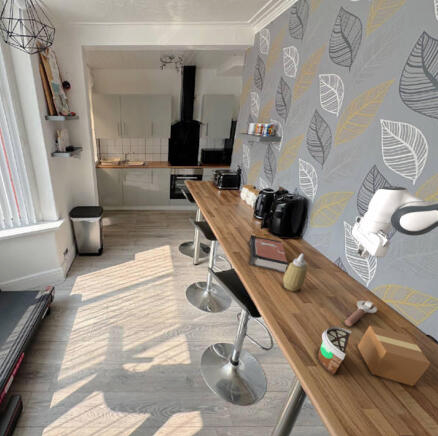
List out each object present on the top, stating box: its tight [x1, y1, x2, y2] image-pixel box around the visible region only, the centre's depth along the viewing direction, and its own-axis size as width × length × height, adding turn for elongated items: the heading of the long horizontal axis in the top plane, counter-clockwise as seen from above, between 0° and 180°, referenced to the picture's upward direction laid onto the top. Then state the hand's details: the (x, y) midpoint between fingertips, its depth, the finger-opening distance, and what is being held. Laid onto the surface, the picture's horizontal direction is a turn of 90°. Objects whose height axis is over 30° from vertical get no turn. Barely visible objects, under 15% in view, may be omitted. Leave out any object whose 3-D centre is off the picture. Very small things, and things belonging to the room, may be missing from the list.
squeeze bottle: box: [282, 252, 308, 292], centre depth 104 cm, size 8×8×18 cm
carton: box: [357, 325, 432, 387], centre depth 73 cm, size 10×10×10 cm
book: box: [248, 234, 289, 274], centre depth 131 cm, size 26×18×5 cm
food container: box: [317, 326, 352, 375], centre depth 74 cm, size 12×6×10 cm, turn 134°
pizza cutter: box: [344, 299, 378, 327], centre depth 93 cm, size 20×6×3 cm, turn 121°
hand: (361, 255), depth 99 cm, fingers closed
